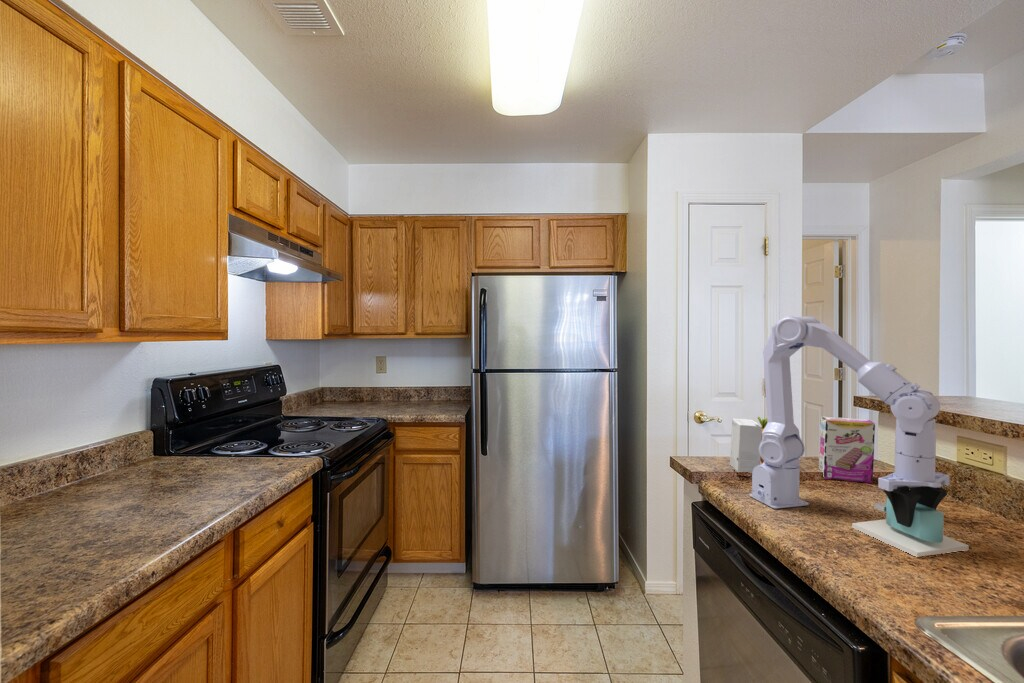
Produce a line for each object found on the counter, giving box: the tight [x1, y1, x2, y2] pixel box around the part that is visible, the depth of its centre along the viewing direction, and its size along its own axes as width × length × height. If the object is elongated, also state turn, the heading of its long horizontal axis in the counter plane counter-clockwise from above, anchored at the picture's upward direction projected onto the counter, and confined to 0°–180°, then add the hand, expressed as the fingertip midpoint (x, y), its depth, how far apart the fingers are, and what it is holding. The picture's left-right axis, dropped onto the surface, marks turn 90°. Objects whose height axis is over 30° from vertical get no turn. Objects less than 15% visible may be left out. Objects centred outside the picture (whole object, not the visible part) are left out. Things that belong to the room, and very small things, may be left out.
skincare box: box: [729, 417, 762, 473], centre depth 123 cm, size 8×6×15 cm
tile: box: [851, 518, 970, 558], centre depth 85 cm, size 12×12×1 cm
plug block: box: [873, 496, 945, 543], centre depth 84 cm, size 4×11×5 cm, turn 11°
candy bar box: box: [818, 416, 876, 484], centre depth 118 cm, size 11×5×16 cm, turn 71°
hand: (913, 523), depth 83 cm, fingers closed on plug block, 4 cm apart
